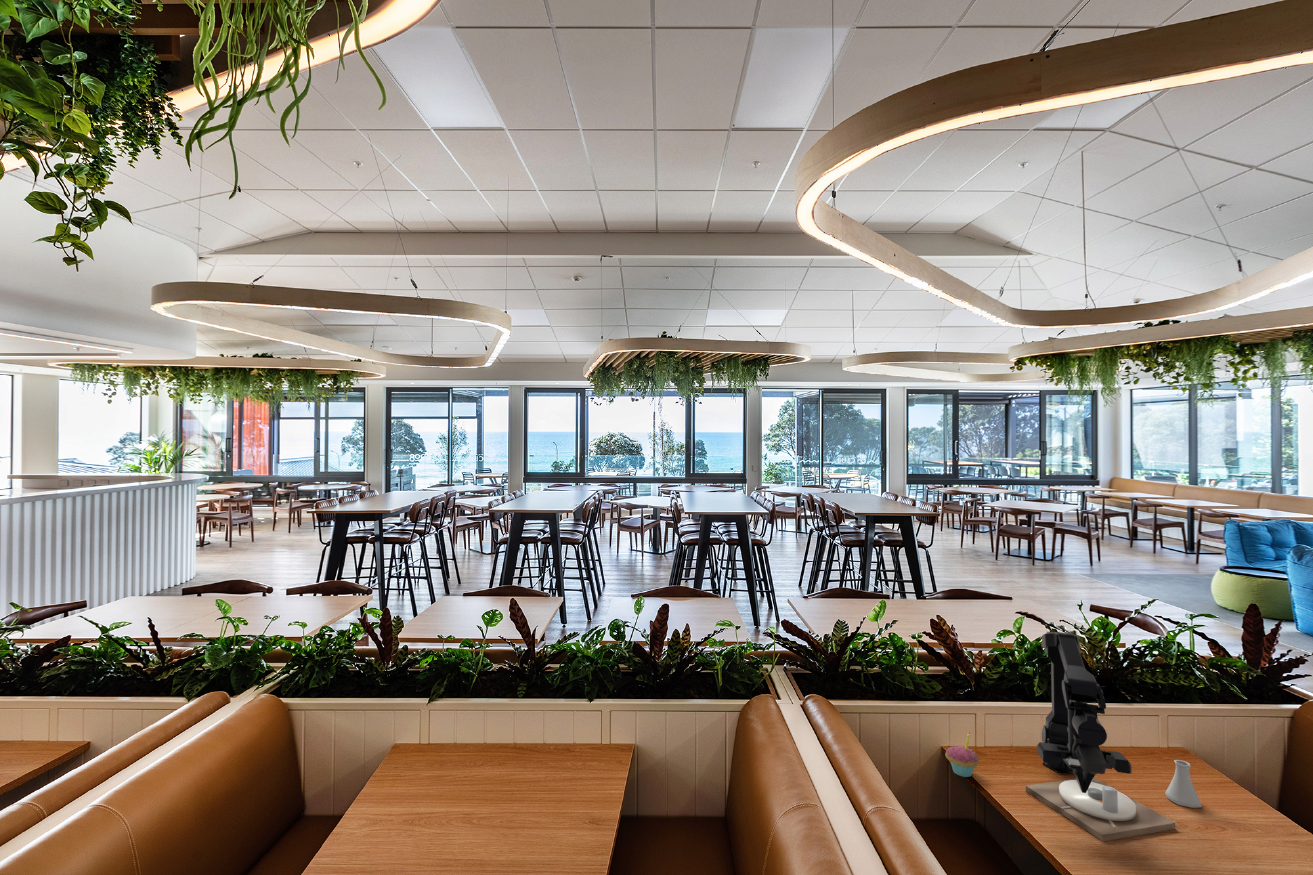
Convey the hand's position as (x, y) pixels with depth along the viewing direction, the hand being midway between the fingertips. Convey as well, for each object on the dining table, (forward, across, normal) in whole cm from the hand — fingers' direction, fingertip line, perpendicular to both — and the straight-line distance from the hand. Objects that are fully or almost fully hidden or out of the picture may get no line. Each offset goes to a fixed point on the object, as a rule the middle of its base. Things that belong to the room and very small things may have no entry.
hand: (1083, 792), depth 150 cm
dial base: (+7, +5, +7) cm, 11 cm away
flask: (+7, +28, +18) cm, 34 cm away
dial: (+5, +5, +7) cm, 10 cm away
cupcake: (+7, -25, +16) cm, 30 cm away
